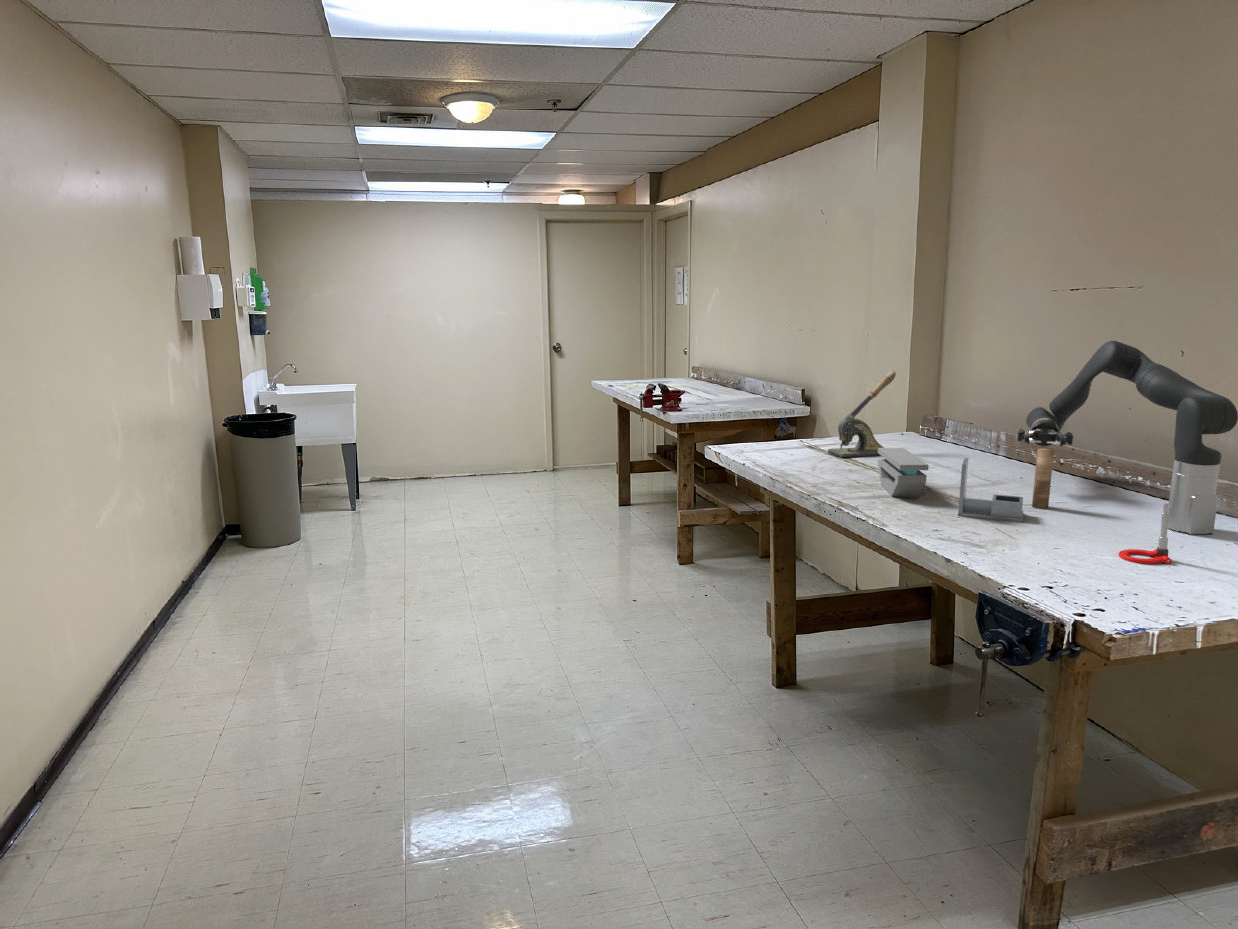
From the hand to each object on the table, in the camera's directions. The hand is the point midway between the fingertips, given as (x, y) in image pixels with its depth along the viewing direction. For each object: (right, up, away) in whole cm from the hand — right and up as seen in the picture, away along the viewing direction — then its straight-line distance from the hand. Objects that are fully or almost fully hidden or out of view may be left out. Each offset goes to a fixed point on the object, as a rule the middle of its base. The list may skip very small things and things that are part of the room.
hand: (1045, 441), depth 234 cm
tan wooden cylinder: (-5, -18, -7) cm, 20 cm away
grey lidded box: (-37, -15, +12) cm, 42 cm away
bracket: (-22, -20, -14) cm, 32 cm away
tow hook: (-4, -28, -50) cm, 57 cm away
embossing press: (-32, -3, +67) cm, 74 cm away
